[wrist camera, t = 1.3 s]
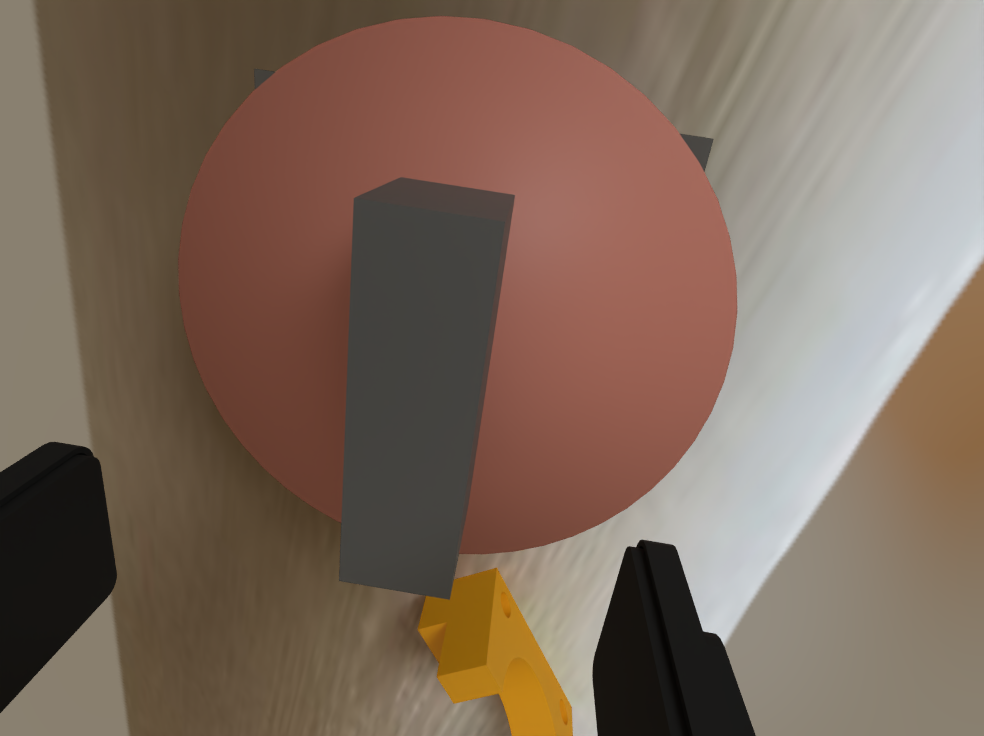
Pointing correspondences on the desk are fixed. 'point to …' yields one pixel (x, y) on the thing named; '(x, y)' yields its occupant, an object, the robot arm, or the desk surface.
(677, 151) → the handwheel
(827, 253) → the desk surface
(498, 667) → the pipe clamp
